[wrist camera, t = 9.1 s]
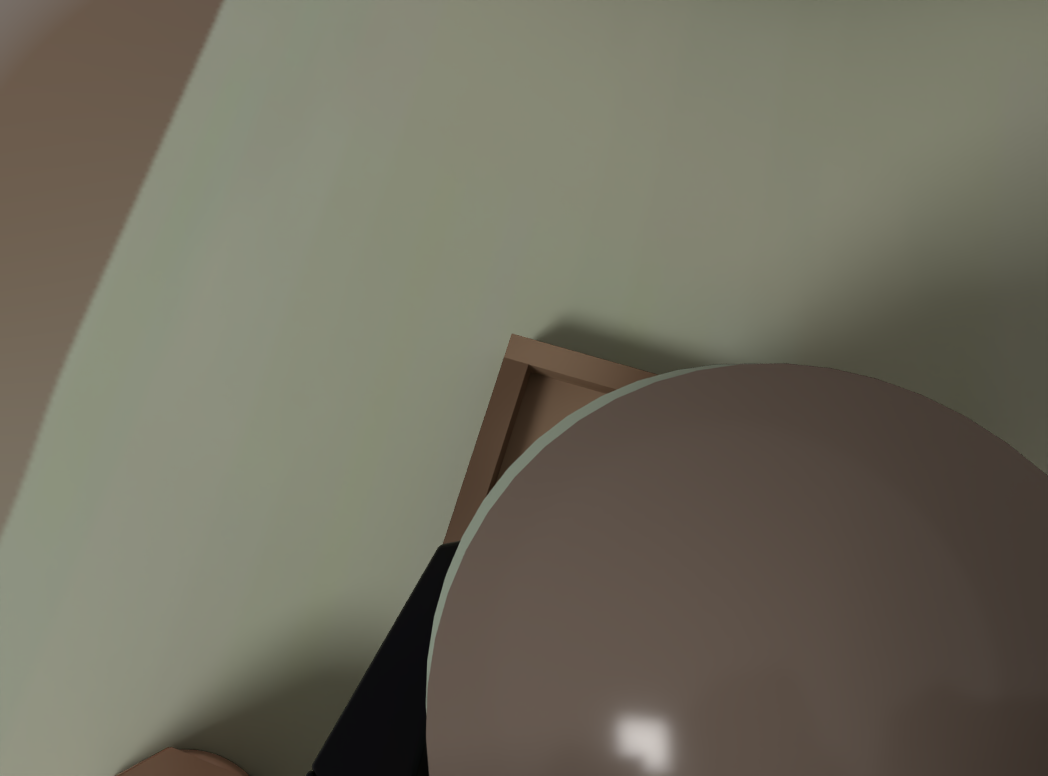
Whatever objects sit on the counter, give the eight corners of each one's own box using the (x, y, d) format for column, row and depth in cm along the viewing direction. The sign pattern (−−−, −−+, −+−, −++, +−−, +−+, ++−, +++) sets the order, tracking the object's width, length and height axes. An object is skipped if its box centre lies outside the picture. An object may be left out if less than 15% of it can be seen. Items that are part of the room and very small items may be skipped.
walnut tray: (854, 446, 18) (885, 438, 16) (771, 819, 16) (794, 857, 14) (518, 350, 19) (511, 333, 17) (410, 684, 17) (390, 703, 16)
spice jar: (796, 526, 15) (1338, 540, 4) (703, 749, 14) (1083, 1464, 3) (587, 427, 16) (597, 232, 5) (489, 630, 15) (261, 900, 4)
